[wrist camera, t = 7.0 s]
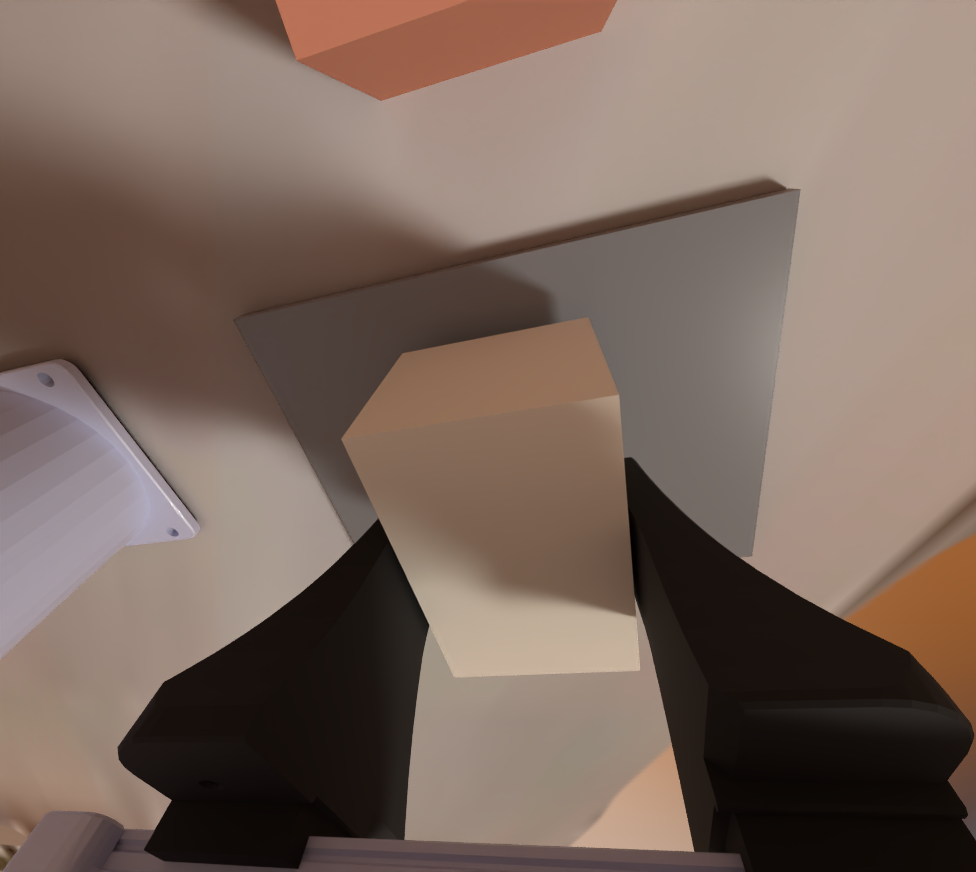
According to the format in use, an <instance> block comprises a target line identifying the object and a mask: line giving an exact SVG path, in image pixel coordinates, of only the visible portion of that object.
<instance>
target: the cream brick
mask: <svg viewBox="0 0 976 872" xmlns="http://www.w3.org/2000/svg"><path fill="white" fill-rule="evenodd" d="M341 440H342V442H343V444H344V446H345V448H346V450H347V452H348V455H349V457H350V459H351V461H352V463H353V465H354V467H355V469H356V471H357V473H358V476H359V478H360V480H361V482H362V484H363V486H364V488H365V490H366V492H367V495H368V497H369V499H370V501H371V503H372V505H373V507H374V509H375V511H376V513H377V516H378V518H379V520H380V522H381V524H382V526H383V528H384V530H385V532H386V535H387V537H388V539H389V541H390V543H391V545H392V547H393V549H394V551H395V553H396V556H397V558H398V560H399V562H400V564H401V566H402V568H403V570H404V572H405V575H406V577H407V579H408V581H409V583H410V585H411V587H412V589H413V591H414V593H415V596H416V598H417V600H418V602H419V604H420V606H421V608H422V610H423V612H424V615H425V617H426V619H427V621H428V623H429V625H430V627H431V629H432V631H433V634H434V636H435V638H436V640H437V642H438V644H439V646H440V648H441V650H442V652H443V655H444V657H445V659H446V661H447V663H448V665H449V667H450V669H451V671H452V674H453V676H454V677H480V676H507V675H534V674H561V673H587V672H614V671H640V662H639V649H638V636H637V623H636V609H635V596H634V583H633V570H632V557H631V544H630V531H629V518H628V505H627V492H626V479H625V466H624V453H623V439H622V426H621V413H620V400H619V393H618V391H617V388H616V386H615V383H614V381H613V378H612V376H611V373H610V371H609V368H608V365H607V363H606V360H605V358H604V355H603V353H602V350H601V348H600V345H599V343H598V340H597V338H596V335H595V333H594V330H593V328H592V325H591V322H590V320H589V317H586V318H581V319H575V320H570V321H565V322H560V323H555V324H550V325H545V326H540V327H534V328H529V329H524V330H519V331H514V332H509V333H504V334H499V335H494V336H488V337H483V338H478V339H473V340H468V341H463V342H458V343H453V344H447V345H442V346H437V347H432V348H427V349H422V350H417V351H412V352H406V353H402V355H401V356H400V357H399V359H398V360H397V362H396V363H395V364H394V366H393V367H392V369H391V370H390V371H389V373H388V374H387V376H386V377H385V378H384V380H383V381H382V383H381V384H380V385H379V387H378V388H377V390H376V391H375V392H374V394H373V395H372V396H371V398H370V399H369V401H368V402H367V403H366V405H365V406H364V408H363V409H362V410H361V412H360V413H359V415H358V416H357V417H356V419H355V420H354V422H353V423H352V424H351V426H350V427H349V429H348V430H347V431H346V433H345V434H344V435H343V437H342V438H341Z"/></svg>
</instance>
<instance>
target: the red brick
mask: <svg viewBox="0 0 976 872" xmlns="http://www.w3.org/2000/svg"><path fill="white" fill-rule="evenodd" d="M616 1H617V0H276V3H277V6H278V9H279V12H280V15H281V18H282V20H283V23H284V26H285V29H286V32H287V35H288V38H289V41H290V43H291V46H292V49H293V52H294V55H295V58H296V60H297V61H299V62H301V63H303V64H305V65H307V66H309V67H311V68H313V69H316V70H318V71H320V72H322V73H324V74H326V75H328V76H330V77H332V78H335V79H337V80H339V81H341V82H343V83H345V84H347V85H349V86H351V87H354V88H356V89H358V90H360V91H362V92H364V93H366V94H368V95H370V96H372V97H375V98H377V99H379V100H381V101H382V100H385V99H388V98H391V97H394V96H398V95H401V94H404V93H407V92H410V91H413V90H417V89H420V88H423V87H426V86H429V85H432V84H436V83H439V82H442V81H445V80H448V79H451V78H455V77H458V76H461V75H464V74H467V73H470V72H474V71H477V70H480V69H483V68H486V67H490V66H493V65H496V64H499V63H502V62H505V61H509V60H512V59H515V58H518V57H521V56H524V55H528V54H531V53H534V52H537V51H540V50H543V49H547V48H550V47H553V46H556V45H559V44H562V43H566V42H569V41H572V40H575V39H578V38H581V37H585V36H588V35H591V34H594V33H597V32H601V31H602V29H603V27H604V25H605V23H606V21H607V19H608V17H609V15H610V13H611V11H612V9H613V7H614V5H615V3H616Z"/></svg>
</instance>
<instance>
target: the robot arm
mask: <svg viewBox="0 0 976 872" xmlns="http://www.w3.org/2000/svg"><path fill="white" fill-rule="evenodd" d="M624 466H625V479H626V492H627V505H628V518H629V531H630V544H631V557H632V570H633V583H634V595H635V598H636V601H637V605H638V608H639V611H640V614H641V617H642V620H643V623H644V626H645V629H646V633H647V636H648V640H649V643H650V648H651V652H652V656H653V661H654V665H655V670H656V674H657V678H658V683H659V687H660V692H661V696H662V701H663V705H664V710H665V714H666V719H667V723H668V728H669V733H670V737H671V742H672V747H673V751H674V756H675V760H676V765H677V770H678V775H679V779H680V784H681V789H682V794H683V799H684V803H685V808H686V813H687V818H688V823H689V827H690V832H691V837H692V842H693V847H694V852H684V851H659V850H634V849H610V848H586V847H561V846H536V845H512V844H487V843H463V842H438V841H413V840H404V837H405V820H406V805H407V791H408V777H409V766H410V755H411V745H412V734H413V725H414V717H415V708H416V700H417V691H418V684H419V677H420V670H421V663H422V656H423V651H424V646H425V641H426V637H427V633H428V629H429V623H428V621H427V619H426V617H425V615H424V612H423V610H422V608H421V606H420V604H419V602H418V600H417V598H416V596H415V593H414V591H413V589H412V587H411V585H410V583H409V581H408V579H407V577H406V575H405V572H404V570H403V568H402V566H401V564H400V562H399V560H398V558H397V556H396V553H395V551H394V549H393V547H392V545H391V543H390V541H389V539H388V537H387V535H386V532H385V530H384V528H383V526H382V524H381V522H380V520H379V518H378V519H377V520H376V521H375V522H374V524H373V525H372V526H371V527H370V528H369V529H368V530H367V531H366V532H365V533H364V534H363V535H362V537H361V538H360V539H359V540H358V541H357V542H356V543H355V544H354V545H353V546H352V547H351V548H350V549H349V550H348V551H347V552H346V553H345V554H344V555H343V556H342V557H341V558H340V559H339V560H338V561H337V562H336V563H335V564H333V565H332V566H331V567H330V568H329V569H328V570H327V571H326V572H325V573H324V574H323V575H321V576H320V577H319V578H318V579H317V580H316V581H314V582H313V583H312V584H311V585H310V586H309V587H307V588H306V589H305V590H304V591H303V592H301V593H300V594H299V595H297V596H296V597H295V598H294V599H292V600H291V601H290V602H288V603H287V604H286V605H284V606H283V607H282V608H280V609H279V610H278V611H276V612H275V613H274V614H272V615H271V616H270V617H268V618H267V619H266V620H264V621H263V622H261V623H260V624H258V625H257V626H256V627H254V628H253V629H251V630H250V631H248V632H247V633H245V634H244V635H242V636H241V637H239V638H238V639H236V640H235V641H233V642H231V643H230V644H228V645H227V646H225V647H224V648H222V649H220V650H219V651H217V652H216V653H214V654H212V655H210V656H209V657H207V658H205V659H204V660H202V661H200V662H198V663H197V664H195V665H193V666H192V667H190V668H188V669H186V670H185V671H183V672H181V673H179V674H178V675H176V676H174V677H172V678H171V679H169V680H167V681H165V682H164V683H163V684H162V685H161V687H160V688H159V690H158V691H157V692H156V694H155V695H154V697H153V698H152V699H151V701H150V702H149V704H148V705H147V707H146V708H145V709H144V711H143V712H142V714H141V715H140V716H139V718H138V719H137V721H136V722H135V723H134V725H133V726H132V728H131V729H130V730H129V732H128V733H127V735H126V736H125V738H124V739H123V740H122V742H121V743H120V745H119V746H118V756H119V760H120V762H121V763H122V764H123V766H124V767H125V768H126V769H127V770H129V771H130V772H131V773H132V774H134V775H135V776H137V777H138V778H140V779H141V780H143V781H144V782H146V783H147V784H149V785H150V786H151V787H153V788H154V789H156V790H157V791H159V792H160V793H162V794H163V795H165V796H166V797H168V798H169V799H171V800H172V801H171V803H170V804H169V806H168V808H167V810H166V811H165V813H164V815H163V817H162V818H161V820H160V822H159V824H158V825H157V827H156V829H155V830H143V829H124V827H123V825H122V824H120V823H119V822H117V821H116V820H114V819H112V818H110V817H108V816H105V815H102V814H98V813H93V812H78V811H51V812H48V813H46V814H45V815H44V817H43V818H42V819H41V821H40V822H39V823H38V825H37V826H36V827H35V829H34V830H33V831H32V833H31V834H30V835H29V837H28V838H27V839H26V841H25V842H24V843H23V845H22V846H21V847H20V849H19V850H18V851H17V852H16V854H15V855H14V856H13V858H12V859H11V860H10V862H9V863H8V864H7V866H6V867H5V868H4V870H3V871H2V872H976V840H975V839H974V837H973V836H972V834H971V833H970V831H969V830H968V828H967V827H966V825H965V824H964V822H963V821H962V819H965V818H966V817H967V816H968V813H967V810H966V807H965V805H964V804H963V802H962V801H961V800H960V798H959V797H958V796H957V794H956V792H955V791H954V789H953V788H952V786H951V785H950V783H949V782H948V781H947V780H948V779H949V777H950V776H951V774H952V773H953V772H954V771H955V769H956V768H957V767H958V765H959V764H960V763H961V761H962V760H963V759H964V758H965V756H966V755H967V754H968V752H969V749H970V747H971V744H972V742H973V739H974V732H973V729H972V725H971V723H970V722H969V720H968V719H967V718H966V717H965V715H964V714H963V713H962V712H961V710H960V709H959V708H958V707H957V705H956V704H955V703H954V702H953V700H952V699H951V698H950V696H949V695H948V694H947V693H946V692H945V691H944V689H943V688H942V687H941V686H940V685H939V684H938V682H936V680H935V679H934V678H933V677H932V676H931V675H930V674H929V673H928V672H927V671H926V670H925V669H924V668H923V666H922V665H921V664H919V662H918V661H917V660H916V659H915V658H914V657H913V656H912V655H911V653H910V652H909V651H907V650H905V649H903V648H901V647H898V646H896V645H894V644H892V643H890V642H888V641H886V640H884V639H882V638H880V637H878V636H876V635H873V634H871V633H870V632H867V631H865V630H863V629H861V628H859V627H857V626H855V625H853V624H851V623H849V622H847V621H845V620H843V619H841V618H839V617H837V616H835V615H833V614H831V613H829V612H828V611H826V610H824V609H822V608H820V607H818V606H817V605H815V604H813V603H811V602H809V601H807V600H806V599H804V598H802V597H800V596H799V595H797V594H795V593H794V592H792V591H790V590H789V589H787V588H785V587H784V586H782V585H781V584H779V583H777V582H776V581H774V580H773V579H771V578H769V577H768V576H766V575H764V574H763V573H761V572H760V571H758V570H756V569H755V568H754V567H752V566H751V565H749V564H748V563H746V562H745V561H744V560H742V559H741V558H739V557H738V556H736V555H735V554H734V553H732V552H731V551H730V550H728V549H727V548H726V547H724V546H723V545H722V544H720V543H719V542H718V541H717V540H715V539H714V538H713V537H711V536H710V535H709V534H708V533H707V532H705V531H704V530H703V529H702V528H701V527H700V526H698V525H697V524H696V523H695V522H694V521H693V520H692V519H690V518H689V517H688V516H687V515H686V514H685V513H684V512H683V511H682V510H681V509H680V508H679V507H677V506H676V505H675V504H674V503H673V502H672V501H671V500H670V499H669V498H668V497H667V496H666V495H665V494H664V493H663V492H662V491H661V489H660V488H659V487H658V486H657V485H656V484H655V483H654V482H653V481H652V480H651V479H650V477H649V476H648V475H647V474H646V473H645V472H644V470H643V469H642V468H641V467H640V465H639V464H638V463H637V461H636V460H635V459H633V458H632V457H627V458H624ZM199 530H200V526H199V524H198V523H197V521H196V520H195V519H194V517H193V516H192V515H191V514H190V512H189V511H188V510H187V508H186V507H185V506H184V505H183V503H182V502H181V501H180V499H179V498H178V497H177V495H176V494H175V493H174V492H173V490H172V489H171V488H170V486H169V485H168V484H167V483H166V481H165V480H164V479H163V477H162V476H161V475H160V474H159V472H158V471H157V470H156V468H155V467H154V466H153V465H152V463H151V462H150V461H149V459H148V458H147V457H146V455H145V454H144V453H143V452H142V450H141V449H140V448H139V446H138V445H137V444H136V443H135V441H134V440H133V439H132V437H131V436H130V435H129V434H128V432H127V431H126V430H125V428H124V427H123V426H122V425H121V423H120V422H119V421H118V419H117V418H116V417H115V416H114V414H113V413H112V412H111V410H110V409H109V408H108V406H107V405H106V404H105V403H104V401H103V400H102V399H101V397H100V396H99V395H98V394H97V392H96V391H95V390H94V388H93V387H92V386H91V385H90V383H89V382H88V381H87V379H86V378H85V377H84V376H83V374H82V373H81V372H80V370H79V369H78V368H77V367H76V366H75V365H73V364H72V363H70V362H68V361H65V360H63V359H55V360H51V361H47V362H42V363H38V364H33V365H29V366H25V367H20V368H16V369H12V370H7V371H3V372H0V659H1V658H2V657H4V656H5V655H6V654H7V653H8V652H9V651H10V650H11V649H12V648H13V647H14V646H15V645H17V644H18V643H19V642H20V641H21V640H22V639H23V638H24V637H25V636H26V635H27V634H29V633H30V632H31V631H32V630H33V629H34V628H35V627H36V626H37V625H38V624H39V623H40V622H42V621H43V620H44V619H45V618H46V617H47V616H48V615H49V614H50V613H51V612H52V611H54V610H55V609H56V608H57V607H58V606H59V605H60V604H61V603H62V602H63V601H64V600H65V599H67V598H68V597H69V596H70V595H71V594H72V593H73V592H74V591H75V590H76V589H77V588H79V587H80V586H81V585H82V584H83V583H84V582H85V581H86V580H87V579H88V578H89V577H90V576H92V575H93V574H94V573H95V572H96V571H97V570H98V569H99V568H100V567H101V566H102V565H104V564H105V563H106V562H107V561H108V560H109V559H110V558H111V557H112V556H113V555H114V554H115V553H117V552H118V551H119V550H120V549H121V548H122V547H123V546H132V545H140V544H149V543H157V542H166V541H174V540H183V539H190V538H193V537H194V536H195V535H196V534H197V533H198V532H199Z"/></svg>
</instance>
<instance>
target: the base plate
mask: <svg viewBox="0 0 976 872" xmlns="http://www.w3.org/2000/svg"><path fill="white" fill-rule="evenodd" d="M799 196H800V189H785V190H781V191H776V192H772V193H768V194H763V195H759V196H755V197H750V198H746V199H742V200H737V201H733V202H729V203H724V204H720V205H716V206H712V207H707V208H703V209H699V210H694V211H690V212H686V213H681V214H677V215H673V216H668V217H664V218H660V219H655V220H651V221H647V222H642V223H638V224H634V225H629V226H625V227H621V228H616V229H612V230H608V231H603V232H599V233H595V234H590V235H586V236H582V237H578V238H573V239H569V240H565V241H560V242H556V243H552V244H547V245H543V246H539V247H534V248H530V249H526V250H521V251H517V252H513V253H508V254H504V255H500V256H495V257H491V258H487V259H482V260H478V261H474V262H469V263H465V264H461V265H456V266H452V267H448V268H444V269H439V270H435V271H431V272H426V273H422V274H418V275H413V276H409V277H405V278H400V279H396V280H392V281H387V282H383V283H379V284H374V285H370V286H366V287H361V288H357V289H353V290H348V291H344V292H340V293H335V294H331V295H327V296H322V297H318V298H314V299H310V300H305V301H301V302H297V303H292V304H288V305H284V306H279V307H275V308H271V309H266V310H262V311H258V312H253V313H249V314H245V315H242V316H240V317H238V318H236V319H234V322H235V324H236V326H237V327H238V329H239V331H240V333H241V335H242V337H243V339H244V340H245V342H246V344H247V346H248V348H249V350H250V352H251V353H252V355H253V357H254V359H255V361H256V363H257V364H258V366H259V368H260V370H261V372H262V374H263V376H264V377H265V379H266V381H267V383H268V385H269V387H270V389H271V390H272V392H273V394H274V396H275V398H276V400H277V402H278V403H279V405H280V407H281V409H282V411H283V413H284V415H285V416H286V418H287V420H288V422H289V424H290V426H291V428H292V429H293V431H294V433H295V435H296V437H297V439H298V440H299V442H300V444H301V446H302V448H303V450H304V452H305V453H306V455H307V457H308V459H309V461H310V463H311V465H312V466H313V468H314V470H315V472H316V474H317V476H318V478H319V479H320V481H321V483H322V485H323V487H324V489H325V491H326V492H327V494H328V496H329V498H330V500H331V502H332V504H333V505H334V507H335V509H336V511H337V513H338V515H339V516H340V518H341V520H342V522H343V524H344V526H345V528H346V529H347V531H348V533H349V535H350V537H351V539H352V541H353V542H354V544H355V543H356V542H357V541H358V540H359V539H360V538H361V537H362V535H363V534H364V533H365V532H366V531H367V530H368V529H369V528H370V527H371V526H372V525H373V524H374V522H375V521H376V520H377V519H378V516H377V513H376V511H375V509H374V507H373V505H372V503H371V501H370V499H369V497H368V495H367V492H366V490H365V488H364V486H363V484H362V482H361V480H360V478H359V476H358V473H357V471H356V469H355V467H354V465H353V463H352V461H351V459H350V457H349V455H348V452H347V450H346V448H345V446H344V444H343V442H342V440H341V438H342V437H343V435H344V434H345V433H346V431H347V430H348V429H349V427H350V426H351V424H352V423H353V422H354V420H355V419H356V417H357V416H358V415H359V413H360V412H361V410H362V409H363V408H364V406H365V405H366V403H367V402H368V401H369V399H370V398H371V396H372V395H373V394H374V392H375V391H376V390H377V388H378V387H379V385H380V384H381V383H382V381H383V380H384V378H385V377H386V376H387V374H388V373H389V371H390V370H391V369H392V367H393V366H394V364H395V363H396V362H397V360H398V359H399V357H400V356H401V355H402V353H406V352H412V351H417V350H422V349H427V348H432V347H437V346H442V345H447V344H453V343H458V342H463V341H468V340H473V339H478V338H483V337H488V336H494V335H499V334H504V333H509V332H514V331H519V330H524V329H529V328H534V327H540V326H545V325H550V324H555V323H560V322H565V321H570V320H575V319H581V318H586V317H589V320H590V322H591V325H592V328H593V330H594V333H595V335H596V338H597V340H598V343H599V345H600V348H601V350H602V353H603V355H604V358H605V360H606V363H607V365H608V368H609V371H610V373H611V376H612V378H613V381H614V383H615V386H616V388H617V391H618V393H619V400H620V413H621V426H622V439H623V453H624V458H627V457H632V458H633V459H635V460H636V461H637V463H638V464H639V465H640V467H641V468H642V469H643V470H644V472H645V473H646V474H647V475H648V476H649V477H650V479H651V480H652V481H653V482H654V483H655V484H656V485H657V486H658V487H659V488H660V489H661V491H662V492H663V493H664V494H665V495H666V496H667V497H668V498H669V499H670V500H671V501H672V502H673V503H674V504H675V505H676V506H677V507H679V508H680V509H681V510H682V511H683V512H684V513H685V514H686V515H687V516H688V517H689V518H690V519H692V520H693V521H694V522H695V523H696V524H697V525H698V526H700V527H701V528H702V529H703V530H704V531H705V532H707V533H708V534H709V535H710V536H711V537H713V538H714V539H715V540H717V541H718V542H719V543H720V544H722V545H723V546H724V547H726V548H727V549H728V550H730V551H731V552H732V553H734V554H735V555H736V556H738V557H749V556H752V552H753V545H754V537H755V530H756V522H757V515H758V507H759V499H760V492H761V484H762V477H763V469H764V462H765V454H766V446H767V439H768V431H769V424H770V416H771V409H772V401H773V393H774V386H775V378H776V371H777V363H778V355H779V348H780V340H781V333H782V325H783V318H784V310H785V302H786V295H787V287H788V280H789V272H790V265H791V257H792V249H793V242H794V234H795V227H796V219H797V212H798V204H799Z"/></svg>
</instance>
